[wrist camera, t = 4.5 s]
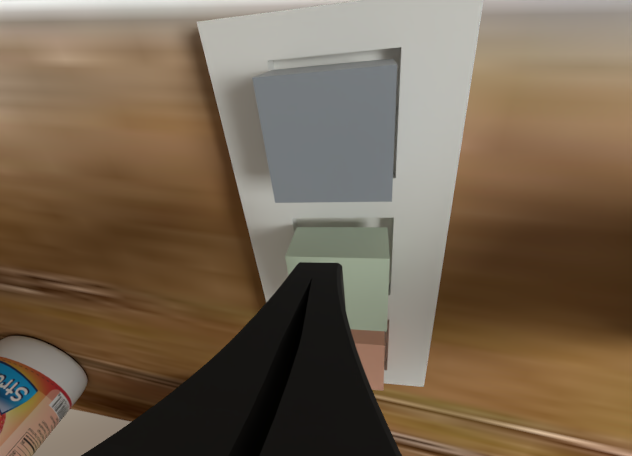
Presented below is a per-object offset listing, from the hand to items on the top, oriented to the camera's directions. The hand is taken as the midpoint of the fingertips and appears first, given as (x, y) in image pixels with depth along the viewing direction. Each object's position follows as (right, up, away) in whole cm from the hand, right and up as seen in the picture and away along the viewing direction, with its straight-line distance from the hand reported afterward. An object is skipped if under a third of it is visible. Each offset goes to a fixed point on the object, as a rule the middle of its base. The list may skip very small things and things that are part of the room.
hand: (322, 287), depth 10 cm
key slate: (+1, +6, +3) cm, 7 cm away
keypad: (+2, +1, +8) cm, 8 cm away
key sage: (+1, 0, +6) cm, 6 cm away
